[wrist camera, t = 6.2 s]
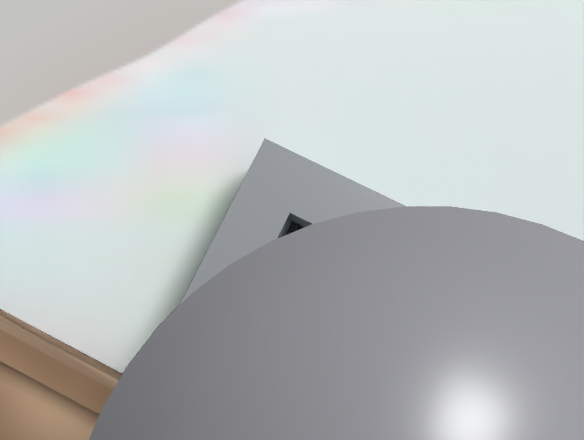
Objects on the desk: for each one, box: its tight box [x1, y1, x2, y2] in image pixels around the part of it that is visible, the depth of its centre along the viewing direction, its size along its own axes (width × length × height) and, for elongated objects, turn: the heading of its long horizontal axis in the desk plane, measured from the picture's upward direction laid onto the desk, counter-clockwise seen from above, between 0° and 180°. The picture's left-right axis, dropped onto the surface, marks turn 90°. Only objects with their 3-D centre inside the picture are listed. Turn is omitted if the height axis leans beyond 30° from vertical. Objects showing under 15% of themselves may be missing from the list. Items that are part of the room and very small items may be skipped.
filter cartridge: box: [89, 207, 584, 440], centre depth 9 cm, size 5×5×12 cm
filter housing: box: [179, 139, 407, 306], centre depth 18 cm, size 10×10×3 cm
